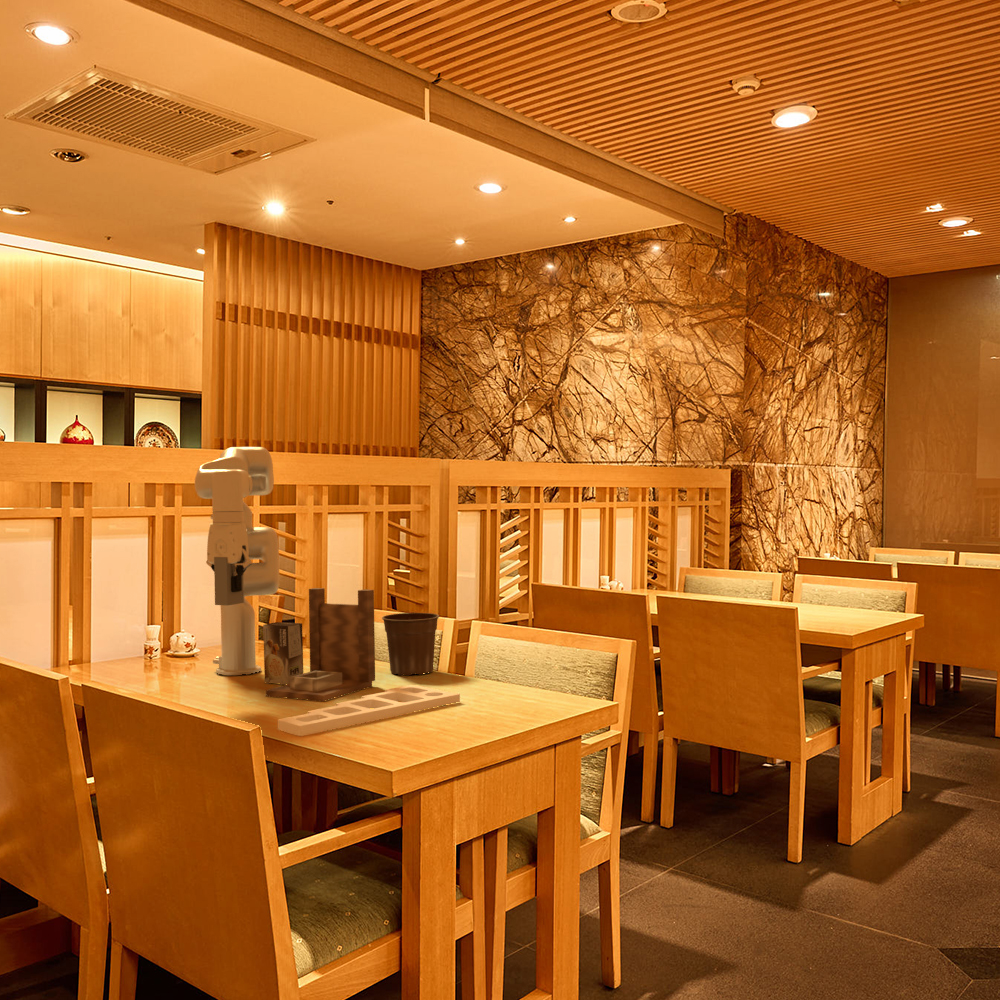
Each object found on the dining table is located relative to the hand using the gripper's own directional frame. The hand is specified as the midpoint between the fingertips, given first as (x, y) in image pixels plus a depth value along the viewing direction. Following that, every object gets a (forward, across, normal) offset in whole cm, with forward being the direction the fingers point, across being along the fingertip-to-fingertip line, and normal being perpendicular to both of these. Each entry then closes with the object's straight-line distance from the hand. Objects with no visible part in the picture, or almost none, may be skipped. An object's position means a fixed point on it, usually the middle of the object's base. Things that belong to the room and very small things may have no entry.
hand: (229, 590), depth 246 cm
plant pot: (+28, +24, +48) cm, 60 cm away
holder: (+27, +41, -2) cm, 50 cm away
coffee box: (+27, 0, +21) cm, 35 cm away
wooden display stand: (+27, +16, +15) cm, 35 cm away
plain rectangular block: (+3, 0, 0) cm, 3 cm away
